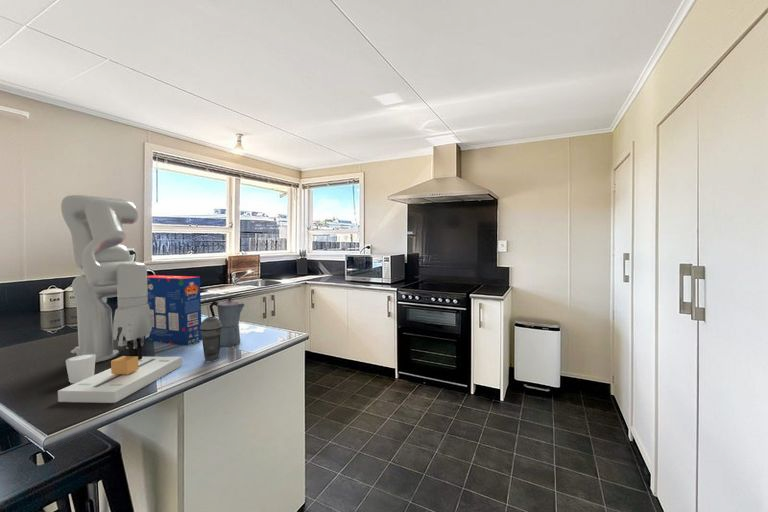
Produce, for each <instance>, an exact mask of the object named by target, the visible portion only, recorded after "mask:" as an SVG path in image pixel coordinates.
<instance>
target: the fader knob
mask: <svg viewBox="0 0 768 512" xmlns="http://www.w3.org/2000/svg"><path fill="white" fill-rule="evenodd" d="M110 366H111V367H110V368H111V374H129V373H131V372H134V371H136V370H138V369H139V367H138V356H128V355H127V356H126V355H122V356H119V357H117V358H115V359H112V360H110Z"/></svg>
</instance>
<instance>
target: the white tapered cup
mask: <svg viewBox="0 0 768 512" xmlns="http://www.w3.org/2000/svg"><path fill="white" fill-rule="evenodd" d="M95 357H96V355H95V354H85V355H79V356H77V355H75V356H72V357H69V358H67V359H66V360H65V365H66V371H67V375H68V376H67V377H68V382H70V384H75V383H77V382H80V381H82V380H84V379H86V378H89V377H91V376H93V375H95V369H96V368H95V367H96V366H95V365H96V363H95Z"/></svg>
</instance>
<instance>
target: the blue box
mask: <svg viewBox="0 0 768 512" xmlns="http://www.w3.org/2000/svg"><path fill="white" fill-rule="evenodd" d="M147 288H148V304H149V308H150V313H151V320H152V330H151V332H150V333H149V334H150V336H149V337H147V338H146V339H145V340H144V341H146V342H155V343H161V344H168V343H169V345H177V346H183V345H184V346H183V347H186V346H189V345H191V343H192V344H194V342H195V343H197V342H196V341H198V342H200V341H199V340H201V341H202V335H201V333H200V325H201V323H202V306H201V305H202V303H201V300H202V298H201V276H186V275H157V274H155V275H154V274H153V275H152V274H151V275H147ZM188 344H189V345H188ZM185 345H186V346H185Z"/></svg>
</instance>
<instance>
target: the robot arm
mask: <svg viewBox="0 0 768 512" xmlns="http://www.w3.org/2000/svg"><path fill="white" fill-rule="evenodd" d="M60 203H61V204H60V206H61V207H60V210H61V215H62V218H63V221H64V222H65V224H66V226H67V228H68V229H69V232H70V235H71V241H72V249H73V256H74V262H75V265H76V267H77V268H78V269H80V270H83V272H84V274H80V275H77V276H76V277H75V278H74V279H73V281H72V283H71V287H72V288H71V289H72V292H73V296H74V301H75V305H76V317H77V340H78V346H75V347H74V349H72V350H70V353H71V354H76V356H79V355H85V354H95V355H96V357H95V364H96V363H100V362H105V361H107V360H108V361H109V360H111V359H113V358H116V357H117V356H119V354H120V351H119V350H118V349H114V341H115V342H117V343H118V344H117V346H118V347H125V348H126V349H127V353H128V354H127V356H138V360H140V359H142V357H143V346H144V343H145V341H146V340H145V339H146V338H147V337H149V336H150V334H149V333H150V332H151V330H152V320H151V313H150V308H149V304H148V288H147V276H148V268H147V265H146V263H143V262H138V261H132V257H131V253H130V251H129V249H128V248H127V246H125V245H123V244H122V243H123V242H124V241H125V240H126V237H127V235H126V231H125V229H124V226H123V225H134V224H136V223H137V222H138V219H139V211H138V209H137V207H136V205H135V204H134V203H133V202H131V201H129V200H125V199H123V198H117V197H107V196H95V195H87V194H72V195H66V196H64V197H63V199H62V200H61V202H60ZM115 297H117V298H116V299H117V308H116V309H115V311H114V316H113V310H112V308H111V306H110V305H109V304H108V303H107V302H106V301H104V299H107V298H115Z"/></svg>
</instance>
